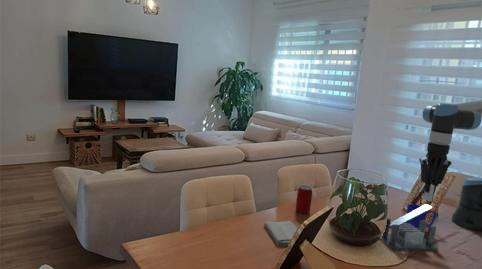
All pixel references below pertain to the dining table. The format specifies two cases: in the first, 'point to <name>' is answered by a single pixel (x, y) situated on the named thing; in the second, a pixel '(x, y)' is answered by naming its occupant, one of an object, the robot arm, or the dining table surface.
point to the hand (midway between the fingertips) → (427, 199)
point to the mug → (416, 220)
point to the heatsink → (409, 237)
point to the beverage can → (304, 199)
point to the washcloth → (281, 231)
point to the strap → (410, 215)
